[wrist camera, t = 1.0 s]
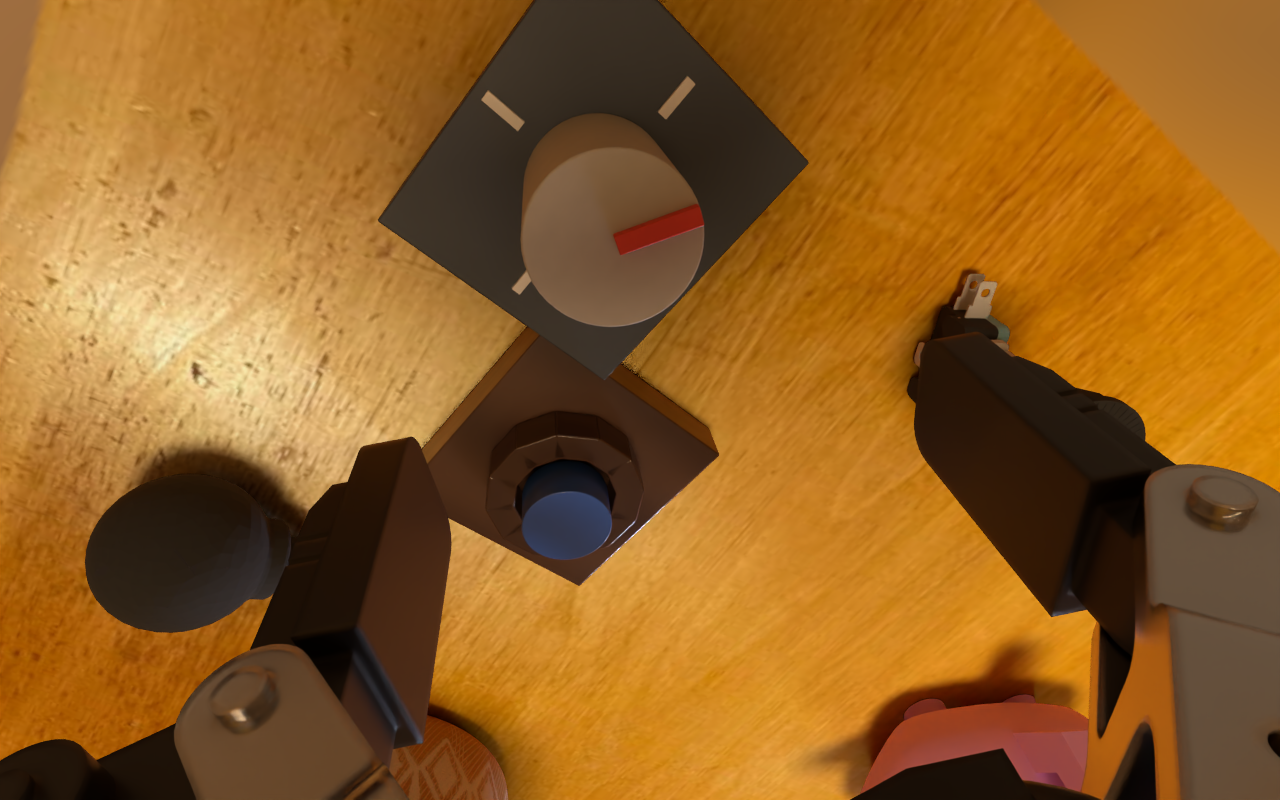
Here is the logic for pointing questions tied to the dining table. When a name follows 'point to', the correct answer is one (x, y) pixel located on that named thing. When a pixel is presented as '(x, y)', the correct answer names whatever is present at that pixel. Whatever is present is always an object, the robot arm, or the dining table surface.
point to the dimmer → (608, 222)
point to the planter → (448, 766)
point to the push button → (1005, 343)
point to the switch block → (562, 447)
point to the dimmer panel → (568, 87)
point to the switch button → (565, 510)
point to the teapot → (990, 739)
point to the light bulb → (184, 553)
